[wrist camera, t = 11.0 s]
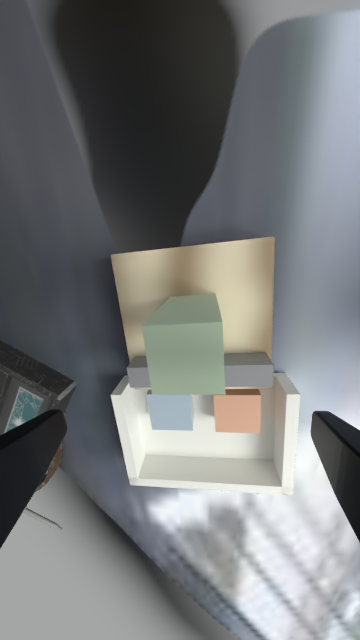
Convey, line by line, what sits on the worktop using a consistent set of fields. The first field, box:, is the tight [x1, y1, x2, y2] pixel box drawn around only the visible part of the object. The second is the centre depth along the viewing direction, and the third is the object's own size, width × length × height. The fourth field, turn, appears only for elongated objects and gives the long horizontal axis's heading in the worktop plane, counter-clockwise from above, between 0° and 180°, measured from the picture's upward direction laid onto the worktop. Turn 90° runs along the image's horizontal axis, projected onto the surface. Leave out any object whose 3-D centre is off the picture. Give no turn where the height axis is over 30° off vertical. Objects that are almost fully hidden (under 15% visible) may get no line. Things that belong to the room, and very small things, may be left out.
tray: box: [111, 373, 300, 496], centre depth 20 cm, size 16×11×3 cm
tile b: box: [146, 389, 194, 431], centre depth 20 cm, size 4×4×2 cm
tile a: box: [214, 389, 261, 433], centre depth 19 cm, size 4×4×2 cm
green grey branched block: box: [127, 293, 274, 395], centre depth 13 cm, size 11×7×8 cm, turn 95°
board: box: [111, 236, 275, 390], centre depth 18 cm, size 12×12×2 cm
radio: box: [0, 341, 76, 530], centre depth 25 cm, size 25×4×20 cm
